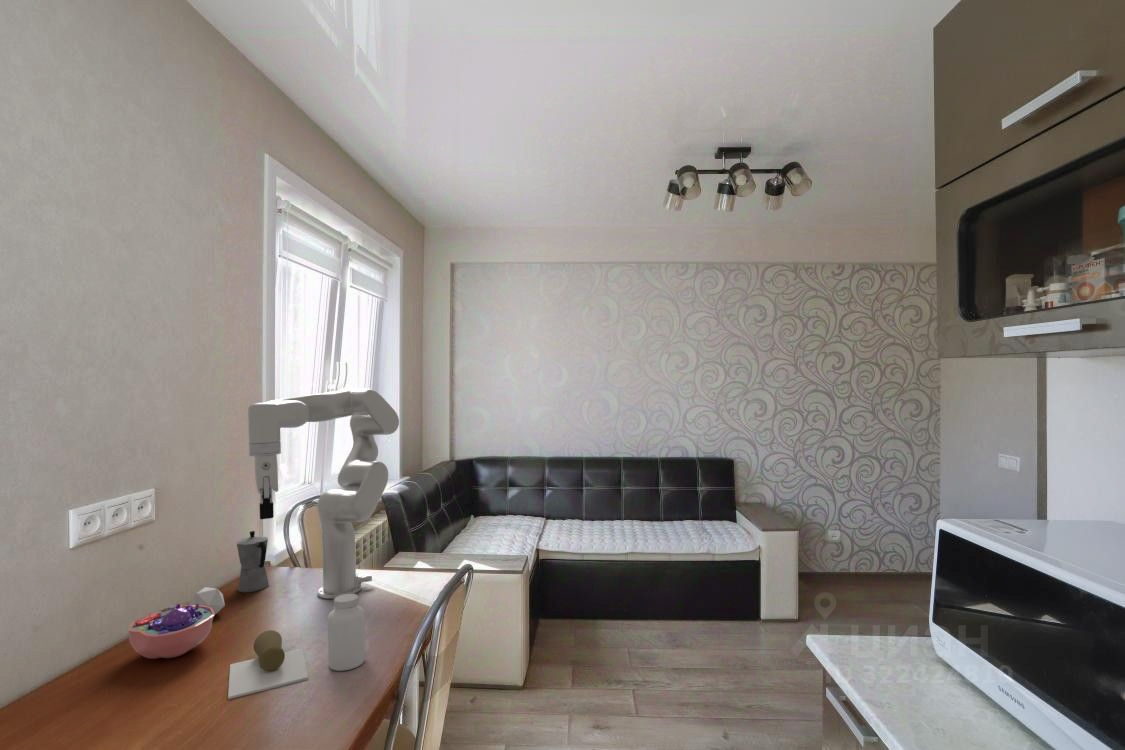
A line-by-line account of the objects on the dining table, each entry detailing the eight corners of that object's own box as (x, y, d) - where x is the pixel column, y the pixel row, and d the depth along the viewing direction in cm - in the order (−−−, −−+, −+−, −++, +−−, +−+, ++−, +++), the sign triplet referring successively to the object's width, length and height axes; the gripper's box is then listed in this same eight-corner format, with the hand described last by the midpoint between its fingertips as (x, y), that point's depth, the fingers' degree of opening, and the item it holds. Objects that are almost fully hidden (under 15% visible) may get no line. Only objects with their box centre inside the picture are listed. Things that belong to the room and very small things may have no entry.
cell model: (202, 629, 152) (201, 586, 153) (223, 653, 138) (222, 606, 138) (122, 651, 141) (122, 605, 141) (136, 680, 126) (135, 628, 126)
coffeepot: (229, 587, 184) (227, 531, 184) (259, 579, 192) (258, 525, 192) (250, 597, 175) (248, 538, 175) (281, 588, 182) (279, 531, 182)
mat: (301, 650, 139) (301, 648, 139) (307, 679, 125) (307, 676, 125) (230, 666, 131) (230, 664, 131) (228, 699, 117) (228, 696, 117)
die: (232, 616, 162) (228, 583, 167) (213, 611, 155) (210, 577, 160) (203, 628, 162) (201, 595, 166) (183, 624, 154) (181, 590, 159)
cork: (255, 631, 135) (259, 648, 125) (283, 628, 138) (289, 645, 129) (251, 658, 134) (255, 677, 125) (280, 655, 137) (285, 673, 128)
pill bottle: (372, 657, 134) (371, 593, 134) (349, 674, 126) (347, 605, 126) (345, 653, 136) (343, 589, 137) (320, 669, 129) (318, 602, 129)
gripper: (282, 450, 148) (283, 521, 148) (279, 445, 161) (281, 511, 161) (249, 452, 144) (250, 526, 144) (249, 447, 157) (250, 514, 157)
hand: (266, 517), depth 152 cm, fingers closed
